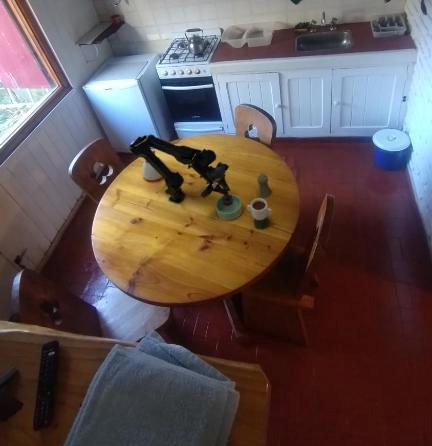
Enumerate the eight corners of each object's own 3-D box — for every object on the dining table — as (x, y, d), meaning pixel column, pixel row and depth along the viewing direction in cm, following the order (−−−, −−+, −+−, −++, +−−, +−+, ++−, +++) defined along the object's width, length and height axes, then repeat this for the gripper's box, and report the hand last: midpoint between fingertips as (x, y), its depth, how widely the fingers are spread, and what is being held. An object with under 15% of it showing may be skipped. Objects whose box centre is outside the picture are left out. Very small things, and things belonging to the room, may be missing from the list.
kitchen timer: (172, 169, 194) (166, 148, 185) (157, 185, 186) (149, 164, 177) (154, 162, 201) (147, 142, 192) (138, 178, 193) (130, 157, 184)
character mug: (274, 219, 156) (273, 200, 148) (271, 232, 151) (269, 213, 143) (251, 215, 160) (248, 196, 152) (247, 227, 155) (244, 208, 147)
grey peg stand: (223, 206, 159) (219, 191, 153) (222, 198, 163) (218, 183, 157) (233, 205, 159) (230, 189, 153) (232, 197, 163) (229, 182, 157)
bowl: (212, 216, 163) (210, 209, 161) (224, 197, 171) (222, 191, 168) (235, 223, 158) (234, 217, 155) (246, 204, 166) (245, 198, 163)
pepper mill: (256, 189, 172) (254, 173, 165) (268, 187, 172) (267, 171, 165) (259, 198, 167) (257, 182, 161) (271, 195, 167) (269, 179, 160)
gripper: (201, 177, 142) (228, 202, 144) (222, 149, 154) (247, 173, 156) (189, 186, 151) (215, 209, 153) (210, 159, 163) (233, 181, 165)
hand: (228, 192), depth 156 cm, fingers closed on grey peg stand, 2 cm apart
